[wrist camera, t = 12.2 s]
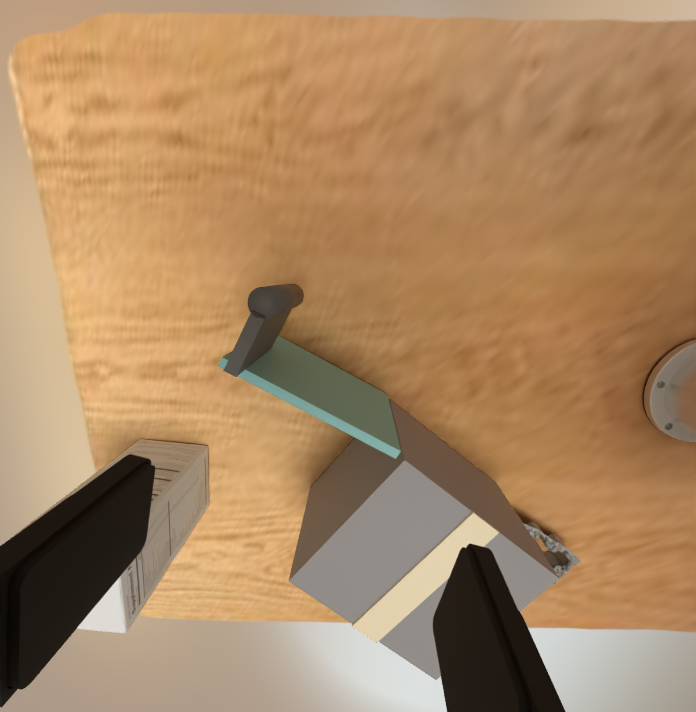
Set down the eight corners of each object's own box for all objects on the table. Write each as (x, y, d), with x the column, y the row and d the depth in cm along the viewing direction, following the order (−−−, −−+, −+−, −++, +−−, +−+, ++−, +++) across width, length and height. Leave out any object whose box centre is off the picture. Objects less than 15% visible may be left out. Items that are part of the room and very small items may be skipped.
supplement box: (138, 436, 43) (4, 534, 27) (209, 443, 43) (118, 545, 27) (143, 501, 45) (21, 627, 29) (210, 507, 45) (126, 638, 29)
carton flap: (417, 345, 39) (453, 390, 24) (383, 399, 40) (398, 472, 25) (294, 277, 37) (250, 278, 22) (265, 335, 39) (206, 373, 24)
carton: (389, 398, 41) (405, 460, 27) (496, 482, 43) (561, 580, 29) (310, 487, 44) (287, 583, 30) (413, 561, 46) (436, 682, 32)
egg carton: (469, 538, 46) (479, 563, 42) (505, 499, 44) (519, 521, 40) (530, 577, 47) (546, 605, 43) (568, 540, 45) (587, 565, 41)
